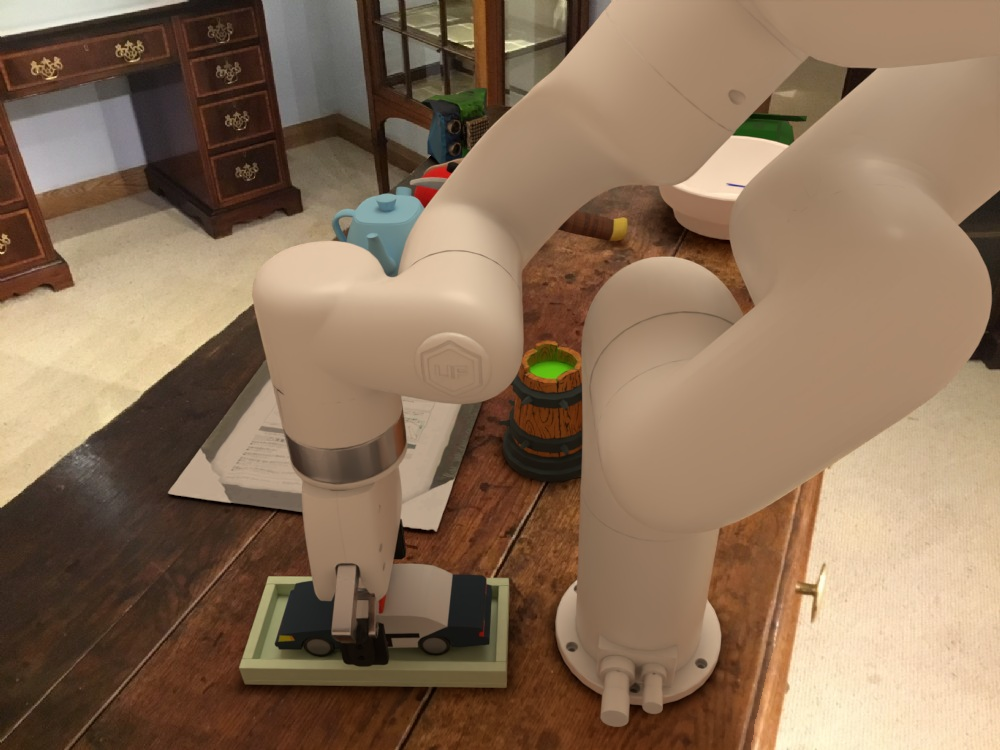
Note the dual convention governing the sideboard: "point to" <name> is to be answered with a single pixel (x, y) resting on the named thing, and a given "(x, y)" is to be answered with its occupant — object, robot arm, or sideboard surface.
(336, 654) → the shallow tray
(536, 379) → the mug
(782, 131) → the toy tank
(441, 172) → the ornament
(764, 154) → the bowl
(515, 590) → the sideboard surface
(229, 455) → the picture frame
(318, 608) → the toy car
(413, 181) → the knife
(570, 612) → the robot arm
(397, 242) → the teapot
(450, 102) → the sculpture
